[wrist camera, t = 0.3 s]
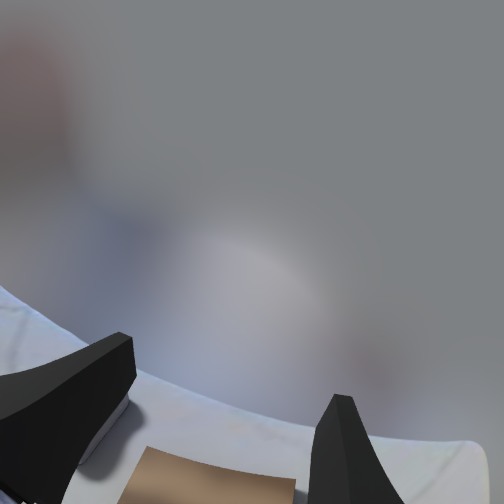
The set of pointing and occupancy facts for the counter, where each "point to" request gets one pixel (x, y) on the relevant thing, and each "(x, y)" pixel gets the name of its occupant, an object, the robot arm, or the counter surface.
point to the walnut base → (200, 483)
